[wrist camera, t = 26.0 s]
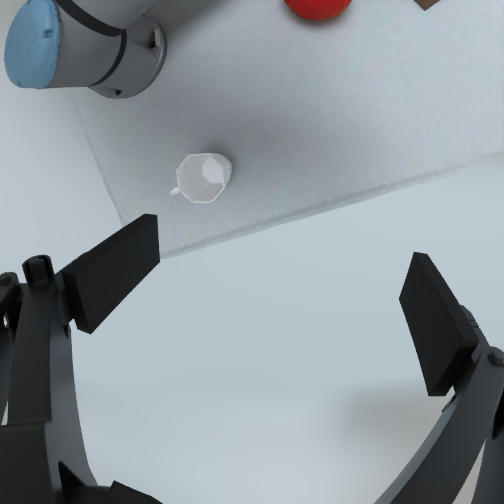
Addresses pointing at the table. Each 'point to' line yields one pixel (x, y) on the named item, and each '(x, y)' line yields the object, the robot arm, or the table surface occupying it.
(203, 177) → the cup
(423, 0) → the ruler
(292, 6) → the apple
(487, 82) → the table surface
